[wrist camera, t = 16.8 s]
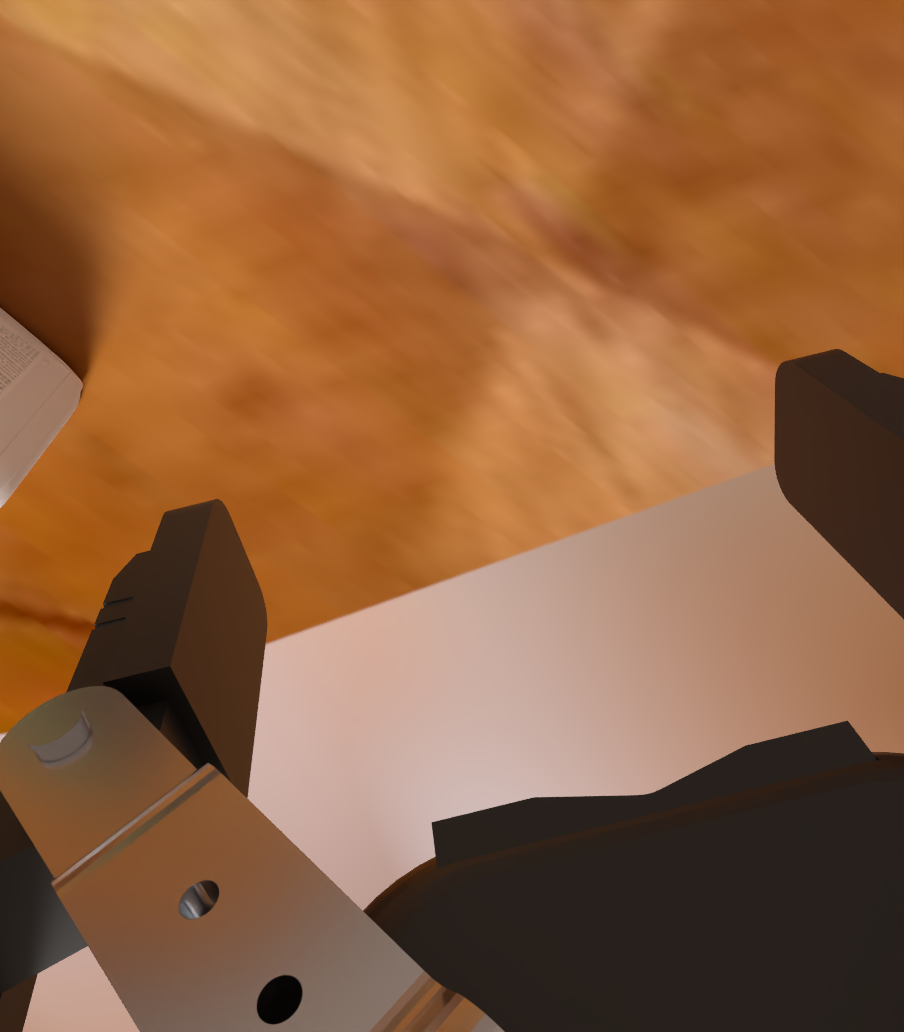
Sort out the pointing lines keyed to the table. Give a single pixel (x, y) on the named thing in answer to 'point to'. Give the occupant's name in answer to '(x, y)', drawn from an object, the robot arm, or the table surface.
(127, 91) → the table surface
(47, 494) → the table surface
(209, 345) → the table surface
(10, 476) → the photo printer
